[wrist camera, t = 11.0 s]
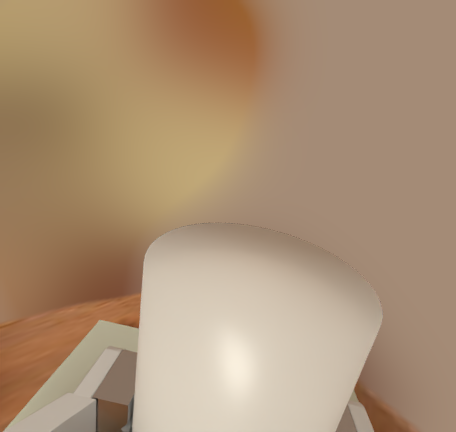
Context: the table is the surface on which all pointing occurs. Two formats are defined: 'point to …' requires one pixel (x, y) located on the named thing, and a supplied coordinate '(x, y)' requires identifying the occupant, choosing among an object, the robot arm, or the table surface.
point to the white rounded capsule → (248, 332)
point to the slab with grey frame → (85, 364)
